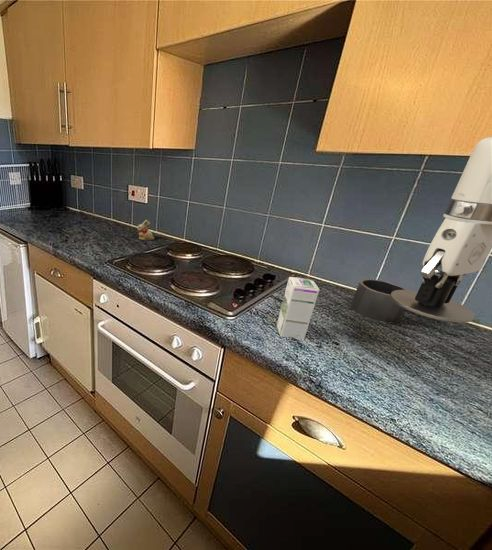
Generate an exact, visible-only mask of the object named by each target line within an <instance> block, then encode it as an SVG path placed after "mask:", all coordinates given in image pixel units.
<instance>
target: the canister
mask: <svg viewBox="0 0 492 550" xmlns="http://www.w3.org/2000/svg"><path fill="white" fill-rule="evenodd" d="M396 290H408V289H407V288H405V287H403V286H401V285H398V284H397V283H394V282H393V283H392V282H389V281H386V280H381V279H376V278H375V279H374V278H365V279H360V281H359V282H358V285H357V288H356V290H355V293H354V295H353V297H352V301H351V303H350V306H349V307H350V310H352V311H354V312H356V313H358V314H359V315H361V316H362V317H366V318H368V319H372V320H375V321H379V322H382V323H391V324H397V323H398V322H399V321H400V319H401V316H402V315H403V312H404V310H405V308H403V307H401V306H400V305H398V304H396V303H395V302H394V301H393V300H392V299H391V298H390V295H391V293H392V292H393V291H396Z"/></svg>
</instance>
